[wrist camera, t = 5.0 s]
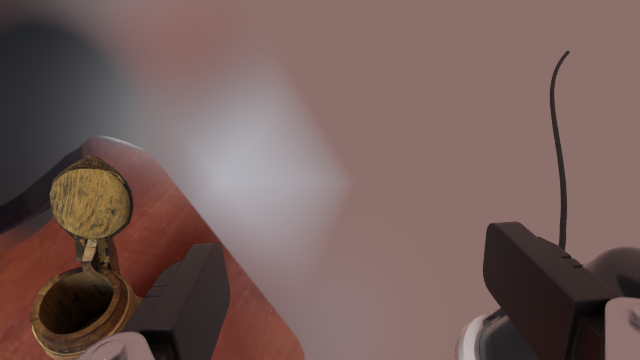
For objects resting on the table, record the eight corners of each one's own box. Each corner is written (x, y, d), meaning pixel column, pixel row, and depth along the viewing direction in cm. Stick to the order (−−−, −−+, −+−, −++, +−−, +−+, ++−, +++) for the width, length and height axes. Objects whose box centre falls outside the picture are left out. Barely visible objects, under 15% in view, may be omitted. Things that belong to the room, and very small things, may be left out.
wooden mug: (181, 263, 42) (154, 157, 28) (152, 396, 33) (92, 334, 20) (99, 260, 40) (30, 147, 27) (45, 398, 32) (-96, 333, 18)
